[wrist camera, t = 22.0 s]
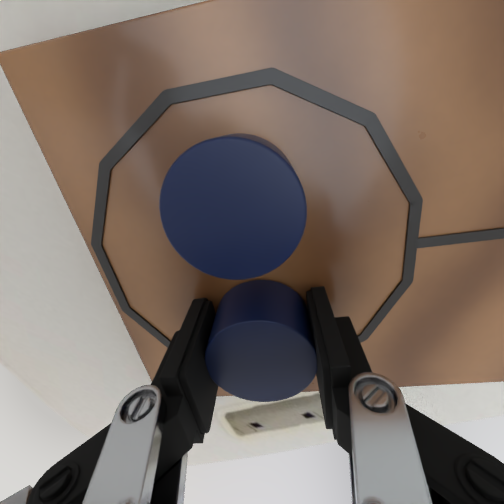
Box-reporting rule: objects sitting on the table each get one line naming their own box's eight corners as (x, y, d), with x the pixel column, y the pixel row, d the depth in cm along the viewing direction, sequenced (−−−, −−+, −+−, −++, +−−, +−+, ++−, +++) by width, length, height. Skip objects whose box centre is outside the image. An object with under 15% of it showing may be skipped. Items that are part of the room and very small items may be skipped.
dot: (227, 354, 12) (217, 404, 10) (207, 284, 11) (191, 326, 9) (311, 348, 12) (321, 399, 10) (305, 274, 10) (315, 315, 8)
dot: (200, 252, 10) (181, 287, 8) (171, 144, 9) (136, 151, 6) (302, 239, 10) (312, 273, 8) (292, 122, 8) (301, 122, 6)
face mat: (166, 383, 15) (159, 401, 14) (21, 59, 9) (-10, 51, 8) (500, 363, 13) (518, 383, 12) (658, -93, 6) (728, -133, 5)
